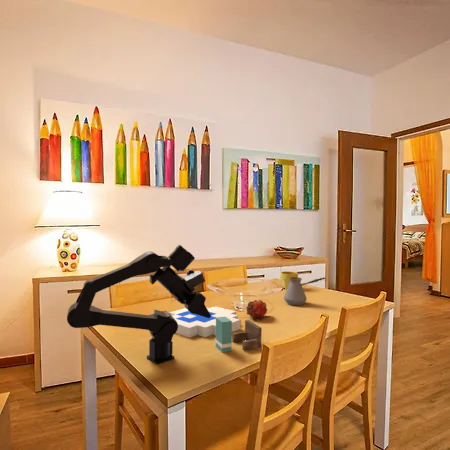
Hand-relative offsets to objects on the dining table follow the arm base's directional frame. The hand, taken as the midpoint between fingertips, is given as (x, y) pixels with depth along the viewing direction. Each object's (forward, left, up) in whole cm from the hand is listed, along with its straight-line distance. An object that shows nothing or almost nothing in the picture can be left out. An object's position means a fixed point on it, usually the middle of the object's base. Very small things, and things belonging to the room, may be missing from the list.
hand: (205, 313), depth 116 cm
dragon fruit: (+41, +13, -13) cm, 45 cm away
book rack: (+14, -5, -13) cm, 19 cm away
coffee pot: (+74, +11, -13) cm, 76 cm away
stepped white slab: (+17, +21, -13) cm, 30 cm away
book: (+6, -2, -13) cm, 14 cm away
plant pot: (+98, +38, -13) cm, 106 cm away
